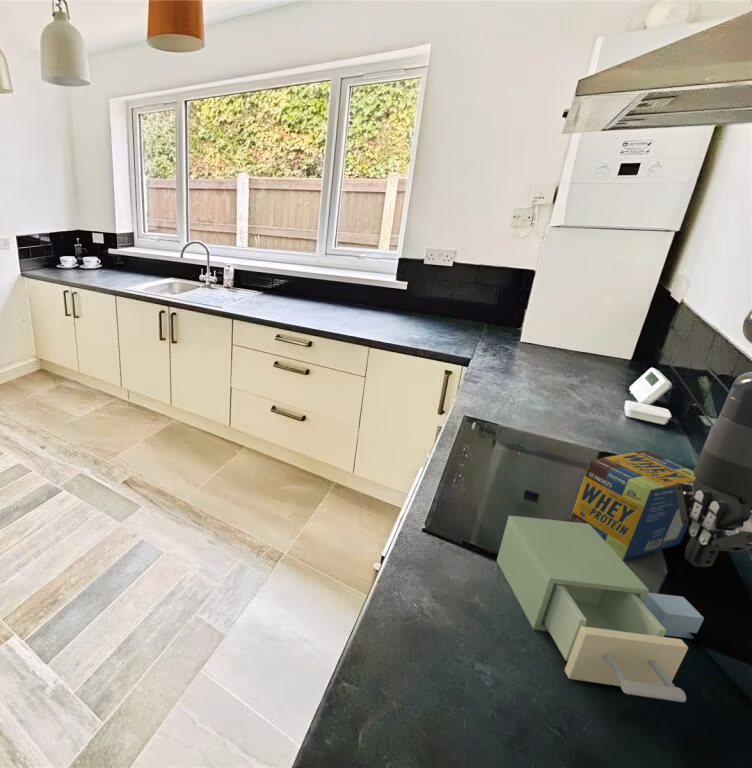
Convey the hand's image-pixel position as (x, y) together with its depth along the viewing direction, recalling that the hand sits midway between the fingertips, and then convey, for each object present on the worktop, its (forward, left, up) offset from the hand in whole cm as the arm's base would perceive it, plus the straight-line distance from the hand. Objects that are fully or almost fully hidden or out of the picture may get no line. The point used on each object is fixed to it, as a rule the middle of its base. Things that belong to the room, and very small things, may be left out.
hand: (695, 562), depth 64 cm
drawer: (+14, +8, -11) cm, 20 cm away
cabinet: (+14, -3, -12) cm, 19 cm away
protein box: (-6, -21, -12) cm, 25 cm away
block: (0, 0, -12) cm, 12 cm away
